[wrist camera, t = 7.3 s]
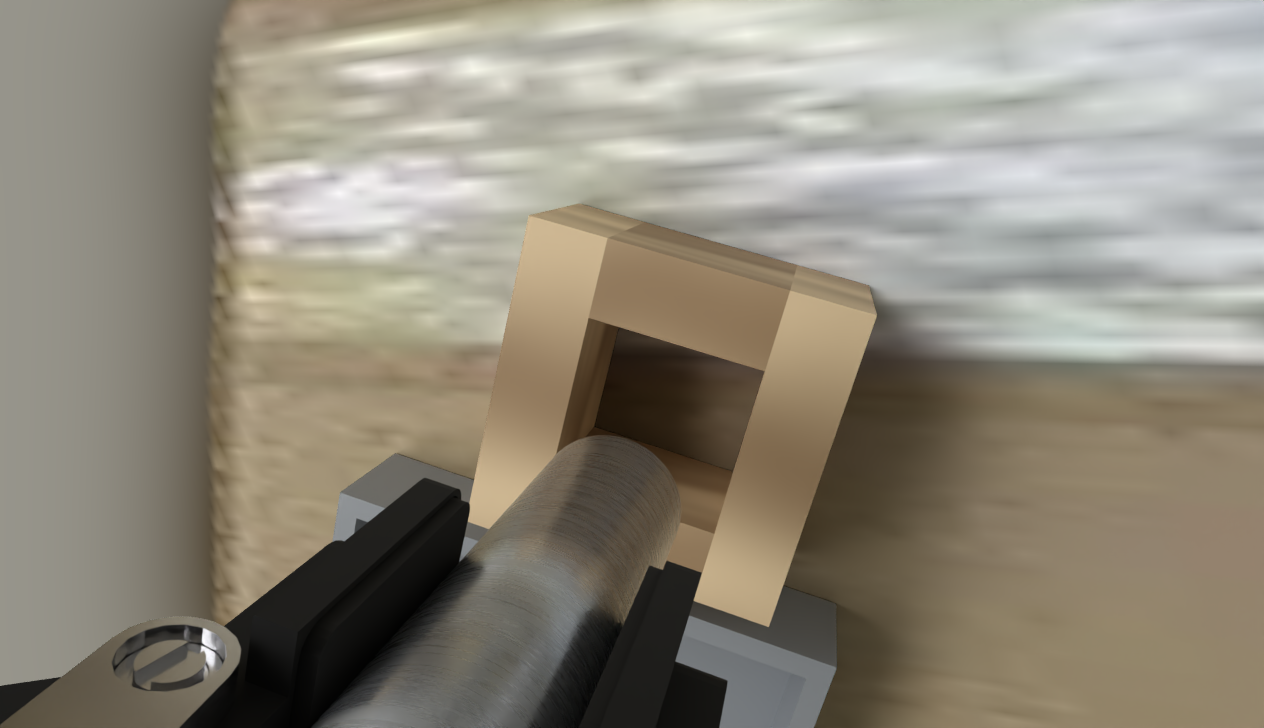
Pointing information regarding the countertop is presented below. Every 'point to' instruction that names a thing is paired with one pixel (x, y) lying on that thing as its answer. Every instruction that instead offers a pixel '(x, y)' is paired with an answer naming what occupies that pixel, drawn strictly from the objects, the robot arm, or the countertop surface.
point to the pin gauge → (528, 602)
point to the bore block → (693, 318)
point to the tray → (713, 639)
